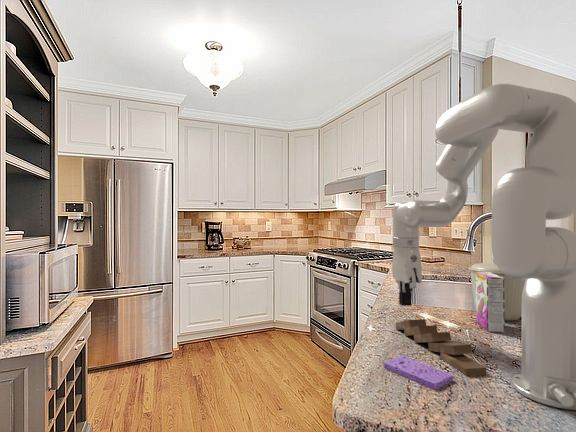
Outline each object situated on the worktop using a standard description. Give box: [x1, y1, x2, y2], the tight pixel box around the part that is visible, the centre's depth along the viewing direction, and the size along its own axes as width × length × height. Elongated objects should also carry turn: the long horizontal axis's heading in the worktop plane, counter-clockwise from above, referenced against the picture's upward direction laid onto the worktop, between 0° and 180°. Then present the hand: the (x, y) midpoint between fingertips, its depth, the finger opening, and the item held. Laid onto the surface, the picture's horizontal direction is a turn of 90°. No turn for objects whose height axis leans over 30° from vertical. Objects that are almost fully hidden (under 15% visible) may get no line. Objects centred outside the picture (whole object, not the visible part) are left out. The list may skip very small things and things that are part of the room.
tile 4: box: [403, 324, 439, 337], centre depth 96 cm, size 2×5×9 cm
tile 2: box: [427, 341, 473, 355], centre depth 85 cm, size 2×5×9 cm
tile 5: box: [394, 319, 427, 331], centre depth 102 cm, size 2×5×9 cm
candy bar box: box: [475, 272, 506, 334], centre depth 109 cm, size 11×5×16 cm, turn 168°
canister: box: [468, 257, 526, 322], centre depth 121 cm, size 18×18×21 cm
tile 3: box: [413, 331, 452, 344], centre depth 91 cm, size 2×5×9 cm
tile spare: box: [439, 352, 487, 377], centre depth 79 cm, size 2×5×9 cm
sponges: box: [383, 354, 454, 390], centre depth 75 cm, size 7×13×2 cm, turn 36°
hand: (405, 304), depth 105 cm, fingers closed
